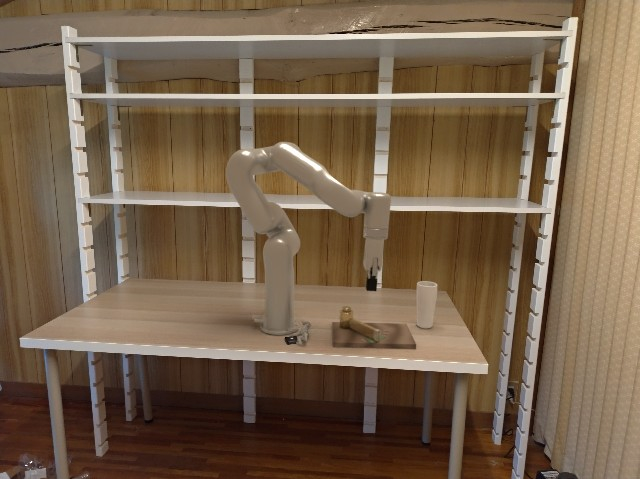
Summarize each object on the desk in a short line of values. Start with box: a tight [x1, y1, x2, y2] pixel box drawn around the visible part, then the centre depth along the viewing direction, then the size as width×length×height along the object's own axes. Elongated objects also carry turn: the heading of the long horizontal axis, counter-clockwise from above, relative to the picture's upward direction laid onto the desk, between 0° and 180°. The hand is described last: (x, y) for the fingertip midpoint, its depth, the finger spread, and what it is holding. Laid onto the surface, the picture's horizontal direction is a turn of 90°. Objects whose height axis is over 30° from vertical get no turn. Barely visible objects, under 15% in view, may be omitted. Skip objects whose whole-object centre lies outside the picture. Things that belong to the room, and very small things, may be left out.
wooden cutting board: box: [331, 321, 417, 350], centre depth 148 cm, size 25×17×2 cm
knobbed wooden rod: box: [339, 305, 381, 341], centre depth 146 cm, size 18×4×6 cm, turn 36°
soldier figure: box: [290, 319, 312, 347], centre depth 145 cm, size 8×5×12 cm
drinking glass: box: [415, 280, 438, 330], centre depth 157 cm, size 7×7×15 cm
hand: (371, 290), depth 146 cm, fingers closed
